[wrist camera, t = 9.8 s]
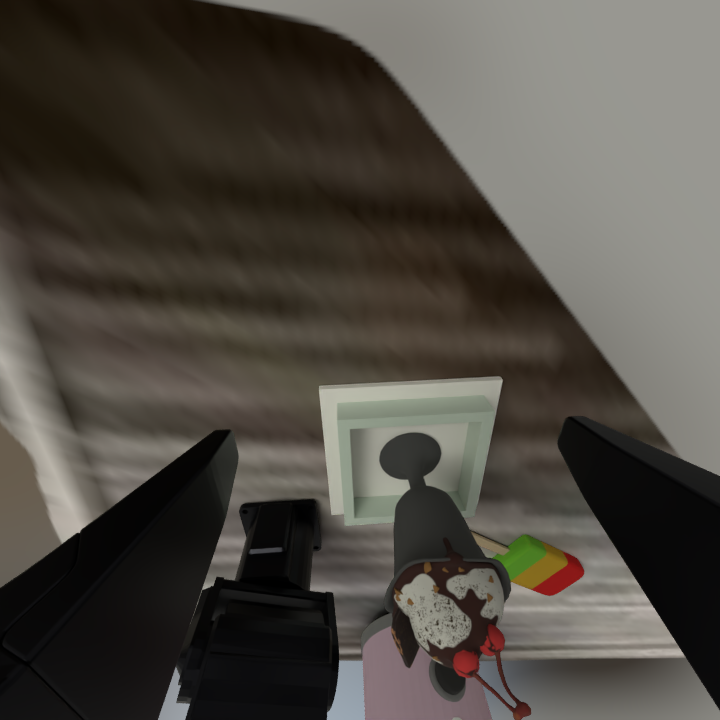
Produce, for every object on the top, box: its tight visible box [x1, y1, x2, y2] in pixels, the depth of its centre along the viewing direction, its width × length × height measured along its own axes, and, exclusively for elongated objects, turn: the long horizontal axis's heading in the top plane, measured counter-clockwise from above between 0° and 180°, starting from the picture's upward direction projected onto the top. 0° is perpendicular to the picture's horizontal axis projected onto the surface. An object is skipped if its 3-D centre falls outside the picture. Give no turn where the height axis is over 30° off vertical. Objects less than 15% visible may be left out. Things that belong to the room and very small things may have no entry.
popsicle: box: [471, 532, 584, 596], centre depth 33 cm, size 6×15×2 cm, turn 56°
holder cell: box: [319, 376, 503, 526], centre depth 25 cm, size 13×13×2 cm
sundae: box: [379, 433, 531, 720], centre depth 19 cm, size 7×7×15 cm
